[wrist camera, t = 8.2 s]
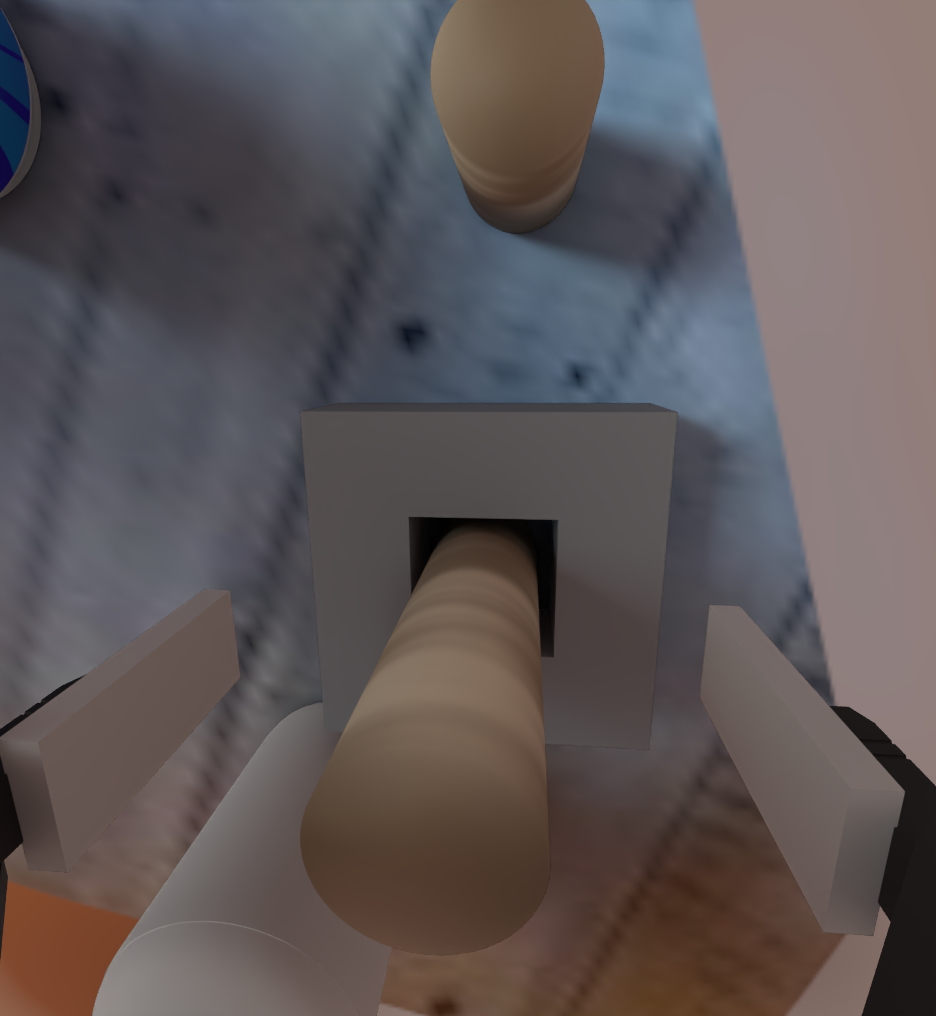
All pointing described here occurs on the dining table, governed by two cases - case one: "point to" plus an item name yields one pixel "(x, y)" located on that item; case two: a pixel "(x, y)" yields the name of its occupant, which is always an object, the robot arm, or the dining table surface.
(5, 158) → the beer can
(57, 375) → the dining table surface
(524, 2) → the short dowel
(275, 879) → the pill bottle
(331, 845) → the tall dowel
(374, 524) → the socket block
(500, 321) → the dining table surface
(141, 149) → the dining table surface
